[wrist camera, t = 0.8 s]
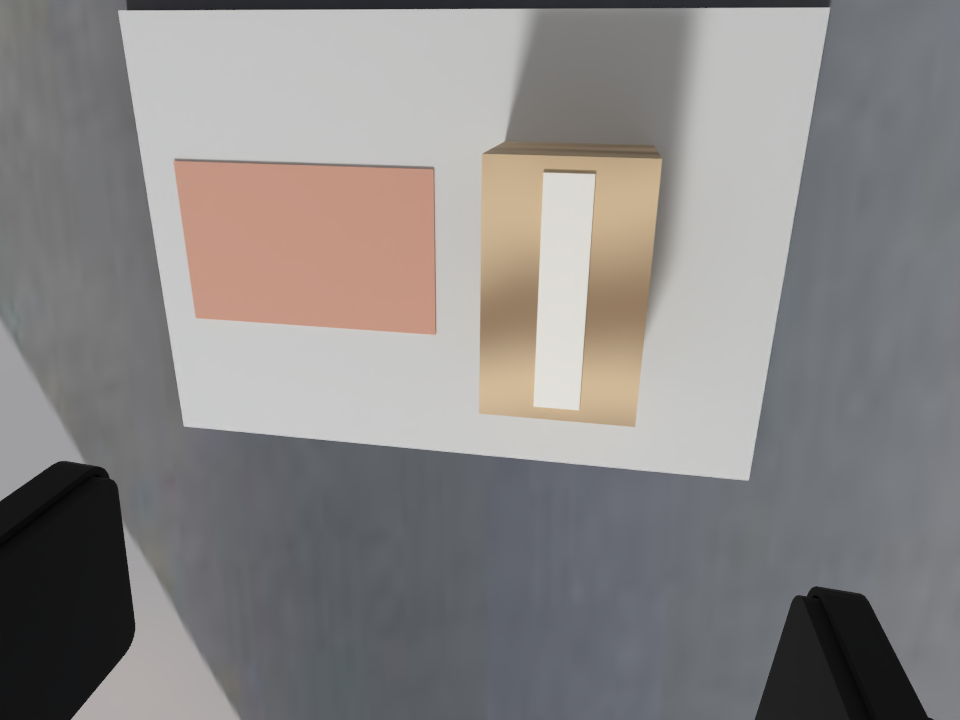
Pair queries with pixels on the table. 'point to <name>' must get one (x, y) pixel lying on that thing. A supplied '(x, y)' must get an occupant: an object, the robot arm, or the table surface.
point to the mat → (460, 212)
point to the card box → (565, 278)
